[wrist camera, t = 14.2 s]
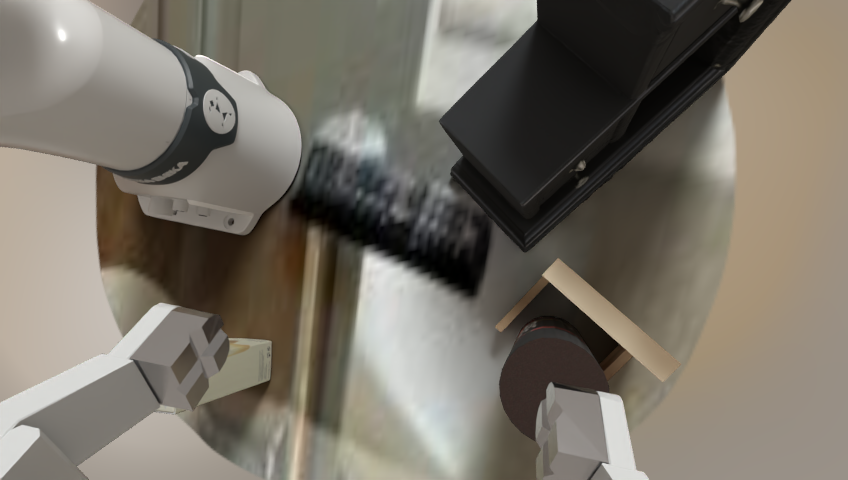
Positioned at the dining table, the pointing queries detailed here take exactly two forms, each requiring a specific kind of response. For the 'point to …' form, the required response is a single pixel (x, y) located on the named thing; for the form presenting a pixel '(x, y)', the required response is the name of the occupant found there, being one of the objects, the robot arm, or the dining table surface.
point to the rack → (602, 323)
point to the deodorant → (545, 369)
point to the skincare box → (236, 371)
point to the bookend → (588, 99)
